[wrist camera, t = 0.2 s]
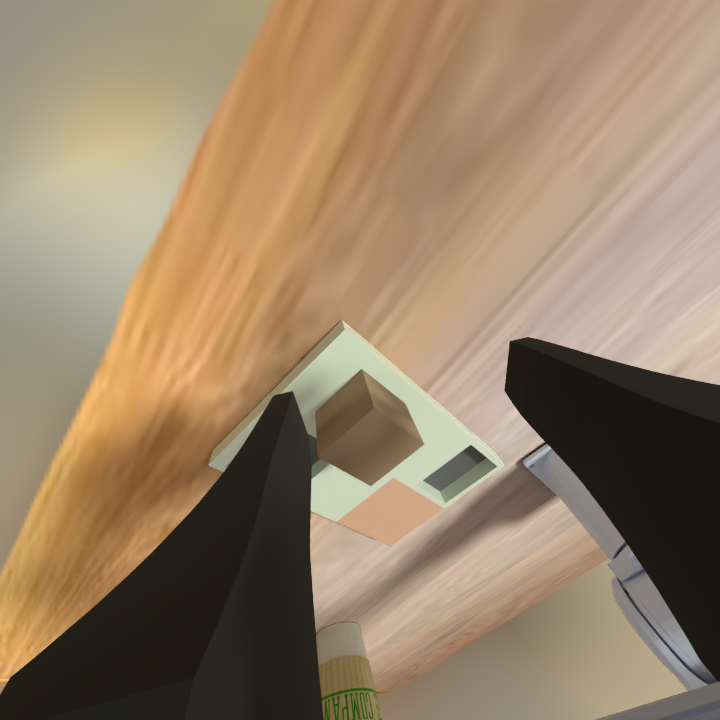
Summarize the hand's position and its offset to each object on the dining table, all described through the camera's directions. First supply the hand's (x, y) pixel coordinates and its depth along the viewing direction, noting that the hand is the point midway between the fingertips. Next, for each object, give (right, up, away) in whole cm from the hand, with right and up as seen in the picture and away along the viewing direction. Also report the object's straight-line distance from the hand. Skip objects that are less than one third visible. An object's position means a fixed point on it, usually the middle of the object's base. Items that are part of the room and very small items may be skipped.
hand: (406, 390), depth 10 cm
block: (-1, -2, +11) cm, 12 cm away
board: (-1, -7, +16) cm, 17 cm away
